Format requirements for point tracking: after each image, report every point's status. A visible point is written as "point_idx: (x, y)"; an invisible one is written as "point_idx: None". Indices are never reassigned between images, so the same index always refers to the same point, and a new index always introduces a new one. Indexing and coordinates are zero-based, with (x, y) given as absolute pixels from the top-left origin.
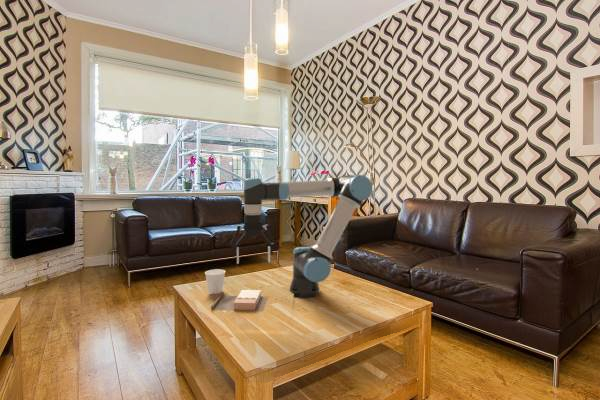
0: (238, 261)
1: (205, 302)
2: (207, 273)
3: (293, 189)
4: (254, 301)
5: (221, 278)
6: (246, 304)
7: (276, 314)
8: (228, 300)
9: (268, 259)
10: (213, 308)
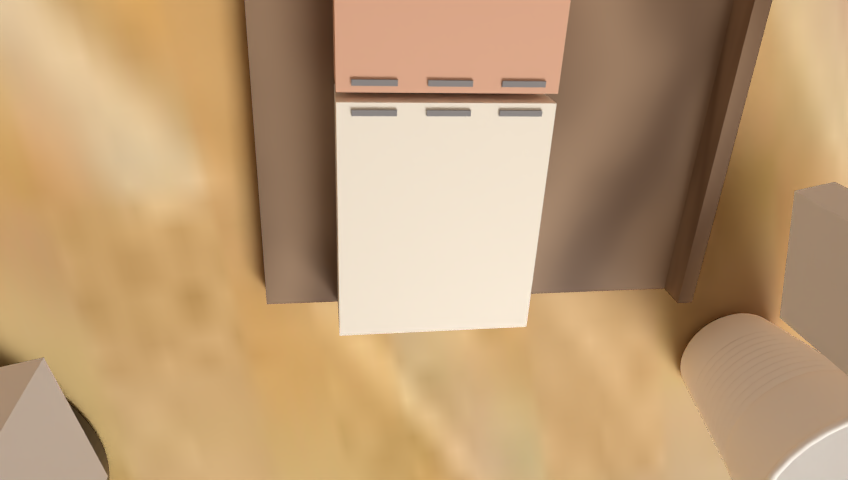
0: (841, 213)
1: (796, 175)
2: None
3: None
4: (348, 7)
5: (763, 422)
6: None
7: None
8: (619, 183)
9: (51, 456)
10: None
